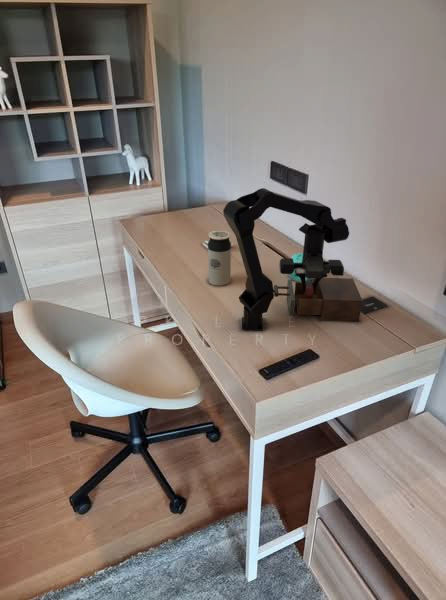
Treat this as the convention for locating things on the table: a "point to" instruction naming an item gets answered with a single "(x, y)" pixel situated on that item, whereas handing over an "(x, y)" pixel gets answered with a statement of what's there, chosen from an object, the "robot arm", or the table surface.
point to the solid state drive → (372, 305)
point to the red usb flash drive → (309, 289)
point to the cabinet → (340, 300)
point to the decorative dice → (296, 259)
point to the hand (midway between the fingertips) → (308, 291)
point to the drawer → (301, 299)
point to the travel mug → (219, 258)
